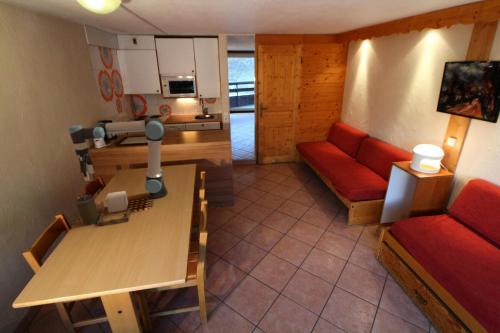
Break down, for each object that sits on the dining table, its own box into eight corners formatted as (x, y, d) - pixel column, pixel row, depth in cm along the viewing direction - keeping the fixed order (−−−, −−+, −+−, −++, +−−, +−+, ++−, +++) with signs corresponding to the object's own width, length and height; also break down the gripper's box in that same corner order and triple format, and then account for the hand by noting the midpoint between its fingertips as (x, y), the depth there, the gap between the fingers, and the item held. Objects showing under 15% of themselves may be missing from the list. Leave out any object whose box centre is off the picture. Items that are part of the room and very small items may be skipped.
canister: (91, 226, 168) (84, 200, 160) (78, 224, 170) (70, 198, 162) (103, 217, 178) (96, 192, 170) (90, 215, 180) (83, 190, 172)
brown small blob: (105, 207, 190) (104, 200, 188) (104, 211, 185) (102, 204, 183) (96, 208, 189) (95, 201, 186) (95, 212, 183) (93, 205, 181)
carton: (128, 203, 196) (125, 190, 192) (126, 209, 187) (123, 196, 183) (111, 205, 192) (107, 193, 188) (108, 212, 183) (105, 199, 179)
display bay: (130, 211, 185) (129, 207, 184) (128, 221, 173) (127, 217, 171) (102, 215, 180) (101, 211, 179) (98, 226, 167) (97, 222, 166)
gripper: (80, 144, 180) (88, 171, 188) (69, 154, 158) (79, 184, 166) (91, 142, 182) (99, 169, 190) (82, 153, 160) (91, 182, 168)
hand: (89, 176), depth 178 cm, fingers open, 13 cm apart
